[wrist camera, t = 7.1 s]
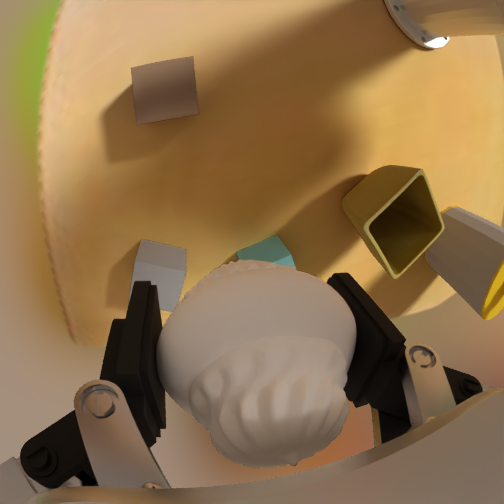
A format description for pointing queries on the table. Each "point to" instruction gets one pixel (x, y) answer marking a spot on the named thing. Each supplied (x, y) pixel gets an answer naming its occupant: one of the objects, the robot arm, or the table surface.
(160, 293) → the grey cube
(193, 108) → the walnut cube
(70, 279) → the table surface
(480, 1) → the robot arm
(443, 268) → the soap bottle
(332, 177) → the table surface
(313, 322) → the muffin
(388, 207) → the flower pot
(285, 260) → the teal cube
